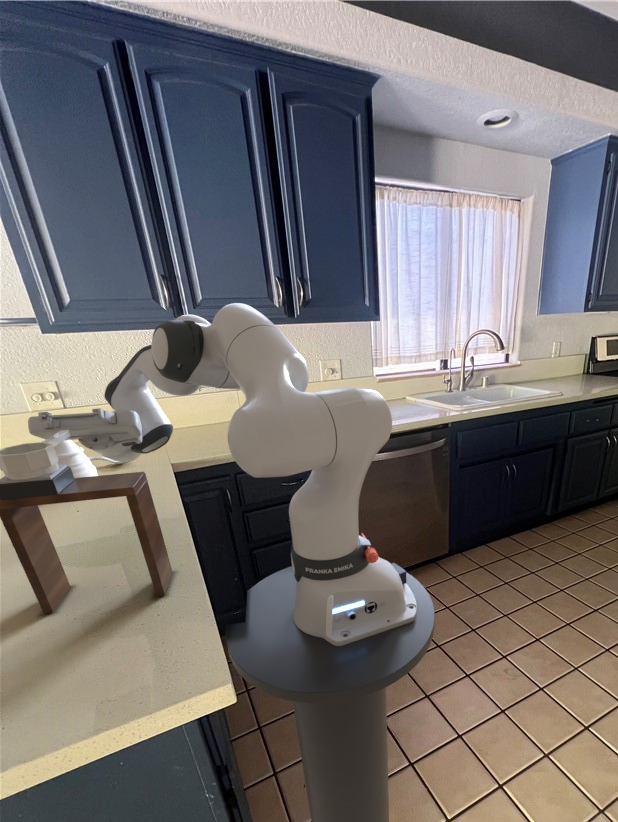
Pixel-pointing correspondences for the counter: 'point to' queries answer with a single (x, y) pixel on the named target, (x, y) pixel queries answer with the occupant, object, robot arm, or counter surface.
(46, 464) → the scoop bowl
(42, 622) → the counter surface
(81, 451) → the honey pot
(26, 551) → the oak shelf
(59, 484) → the kitchen scale
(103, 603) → the counter surface
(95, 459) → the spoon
